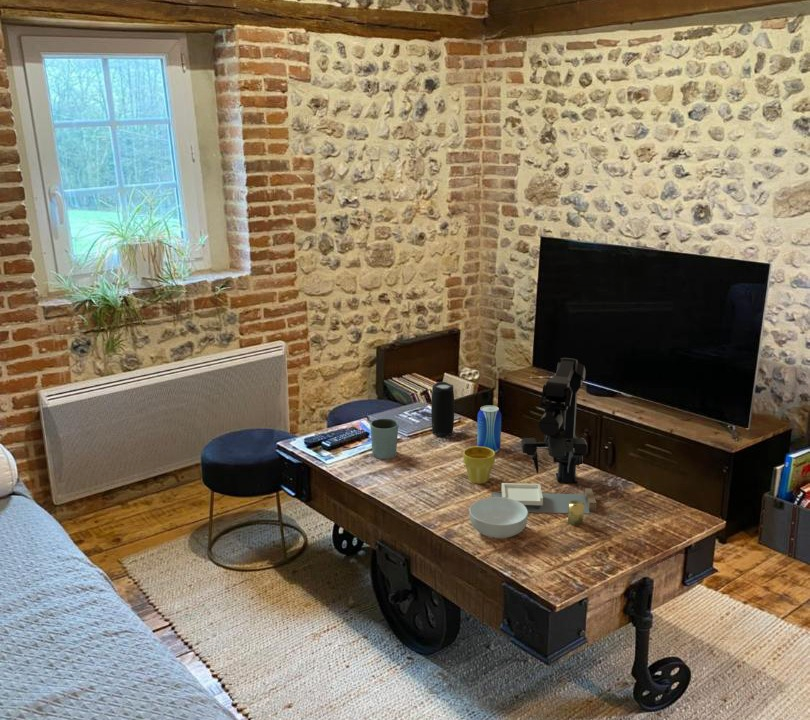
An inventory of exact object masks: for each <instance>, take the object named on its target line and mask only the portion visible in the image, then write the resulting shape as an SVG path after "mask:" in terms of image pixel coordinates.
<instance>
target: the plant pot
mask: <svg viewBox="0 0 810 720" xmlns="http://www.w3.org/2000/svg"><path fill="white" fill-rule="evenodd" d="M462 454H463V455H462V457H463V459H462V460H463V463H464V465H465V469H466V473H467V478H468V481H470V482H471V483H473V484H478V485H479V484H480V485H481V484H485V483H488V482H489V480H490V476H491V472H492V468H493V465H494V464H495V462H496V461H495V460H496V453H495V452H494V451H493V450H492V449H490V448H487V447H481V446H477V445H475V446H470V447H467V448H465V449H464V450H463V453H462Z"/></svg>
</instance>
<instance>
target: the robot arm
mask: <svg viewBox="0 0 810 720" xmlns="http://www.w3.org/2000/svg"><path fill="white" fill-rule="evenodd" d="M585 367H586V366H585V365H584V364H582V363H580V362H579V361H578V359H575V358H571V357H570V358H569V357H563V358H562V357H560V359H559V362H557V366H556V372H555V375H554V377H550V378H548V380H546V382H545V384H544V383H543V386H542V393H541V397H540V398H541V399H540V402H539V403H540V404H539V408H541V409H544V413H543V415H542V416H541V418H540V419H539V422H538V428H539V431H540V433H542V434H544V441H537V440H536V437H523V438H522V439H521V444H520V447H521V451H522V454H526V455H527V456H528V457H531V459H532V462H533V465H534V468H535V471H536V473H537V474H538V473H539V462H538V460H539V459H538V457H539V455H538V452H537V450H538V449H544V450H545V449H547V450H548V455H549V456H550V457H553V463H557V464H558V467H557V469H558V470H557V471H558V472H555V476H556V481H557V483H562V484H563V483H564V484H565V483H566V484H567V483H568V484H569V483H571V484H577V483H578V478H577V474H576V473H577V466H578V467H580V465H583V459H584V457H583V455H586V454H588V453H589V452H588V451H589V446H588V443H587V440H586V439H585V438H584V437H577V435H576V420H577V419H576V418H577V405H578V403H577V402H578V392H579V390H580V389H581V387H582V385H583V383H584V381H585V379H586V368H585Z"/></svg>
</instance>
